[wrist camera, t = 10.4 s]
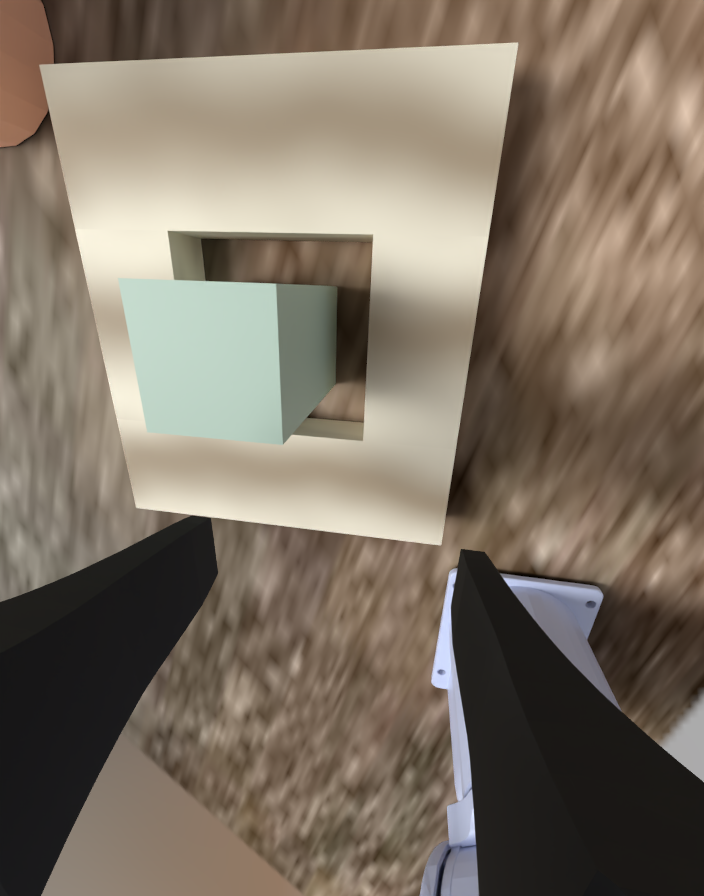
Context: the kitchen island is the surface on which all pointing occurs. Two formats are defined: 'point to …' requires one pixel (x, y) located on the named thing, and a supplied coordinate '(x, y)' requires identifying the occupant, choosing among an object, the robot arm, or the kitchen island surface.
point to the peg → (230, 355)
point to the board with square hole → (297, 219)
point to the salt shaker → (22, 68)
